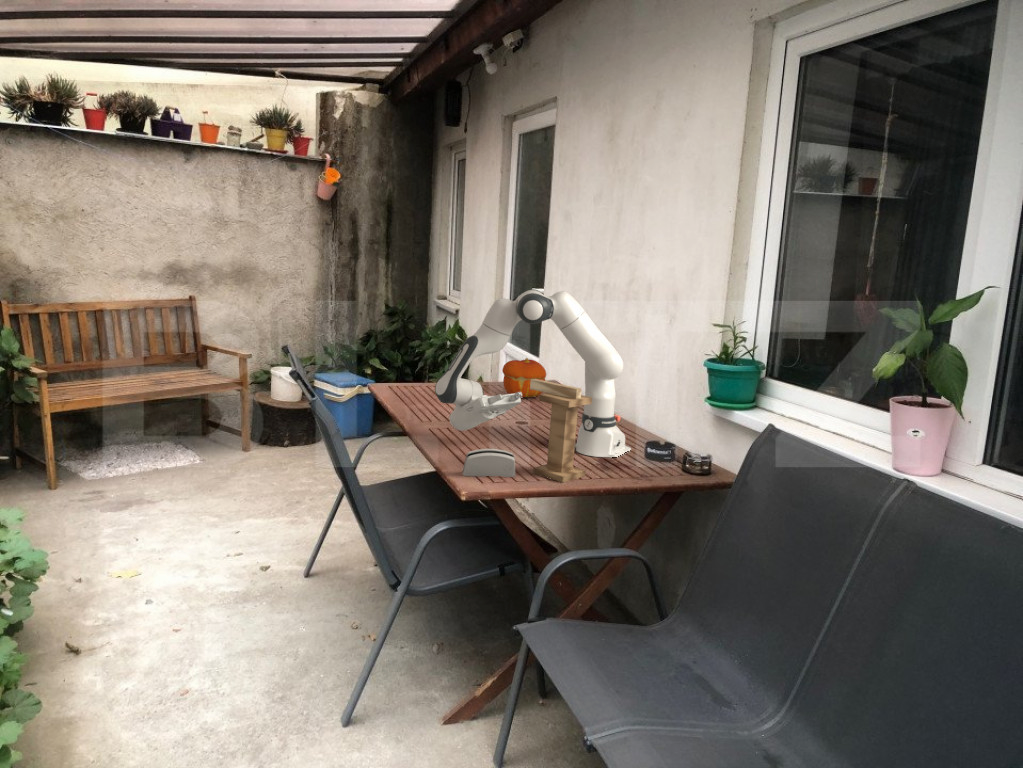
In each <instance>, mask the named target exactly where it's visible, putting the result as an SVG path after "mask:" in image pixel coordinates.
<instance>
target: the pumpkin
mask: <svg viewBox="0 0 1023 768" xmlns="http://www.w3.org/2000/svg"><path fill="white" fill-rule="evenodd" d="M502 374H503V382H502V383H503V389H505V391H506V393H507V394H514V393H517V392H521V393H522V397H528V398H531V397H534V396H537V397H539V395H540V394H543V392H541V391H536V390H532V389H530V382H531V379H538V380H542V381H546V377H547V371H546V369H545V367H544V366H543V365H542V364H541V363H540V362H538V361H536V360H534V359H531V358H530V359H529V358H528V357H526V358H525V359H522V360H521V359H520V360H518V359H513V360H509V361H507V362H506V363H505V364H504V365H503V367H502Z"/></svg>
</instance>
